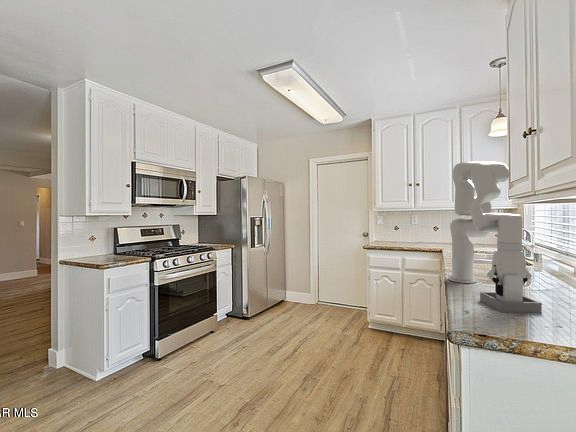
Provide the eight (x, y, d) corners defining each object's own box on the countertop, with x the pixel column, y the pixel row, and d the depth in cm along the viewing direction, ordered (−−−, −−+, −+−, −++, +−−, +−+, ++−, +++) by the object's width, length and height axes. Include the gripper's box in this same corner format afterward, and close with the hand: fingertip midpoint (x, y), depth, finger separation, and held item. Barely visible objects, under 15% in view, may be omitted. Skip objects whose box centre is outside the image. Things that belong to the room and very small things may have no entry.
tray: (480, 300, 123) (480, 292, 123) (516, 301, 122) (516, 292, 122) (500, 312, 110) (501, 302, 110) (541, 312, 109) (541, 302, 109)
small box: (522, 305, 112) (523, 276, 111) (505, 304, 113) (505, 275, 112) (511, 298, 120) (512, 271, 119) (495, 298, 121) (495, 271, 120)
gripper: (526, 246, 119) (526, 292, 119) (479, 245, 120) (479, 292, 121) (541, 248, 111) (540, 298, 112) (491, 248, 113) (490, 297, 113)
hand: (508, 294), depth 116 cm, fingers closed on small box, 6 cm apart
